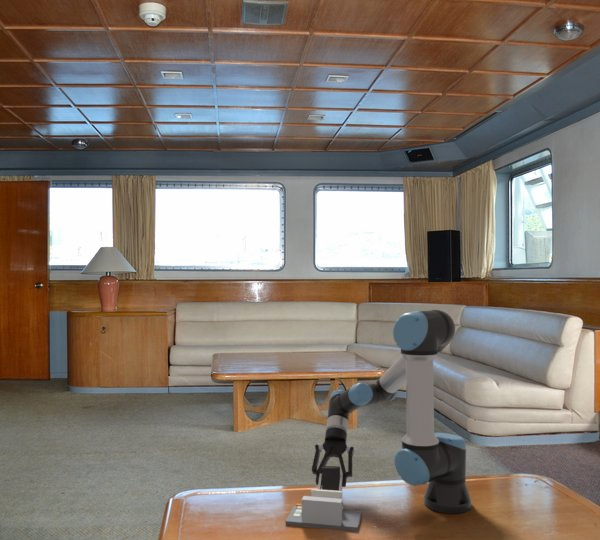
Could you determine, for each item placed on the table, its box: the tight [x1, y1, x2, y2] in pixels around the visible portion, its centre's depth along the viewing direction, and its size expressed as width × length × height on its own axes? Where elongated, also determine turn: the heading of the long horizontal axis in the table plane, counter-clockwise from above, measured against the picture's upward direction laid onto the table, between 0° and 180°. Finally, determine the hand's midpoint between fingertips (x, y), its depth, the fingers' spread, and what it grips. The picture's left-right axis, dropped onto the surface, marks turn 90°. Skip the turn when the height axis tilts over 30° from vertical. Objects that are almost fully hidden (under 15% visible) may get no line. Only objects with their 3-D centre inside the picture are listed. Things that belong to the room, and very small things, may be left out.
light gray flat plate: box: [295, 488, 343, 507], centre depth 194 cm, size 15×1×6 cm, turn 78°
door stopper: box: [321, 465, 341, 491], centre depth 203 cm, size 9×6×12 cm, turn 175°
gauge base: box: [285, 495, 363, 532], centre depth 189 cm, size 22×12×8 cm, turn 78°
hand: (329, 494), depth 199 cm, fingers closed on door stopper, 6 cm apart
